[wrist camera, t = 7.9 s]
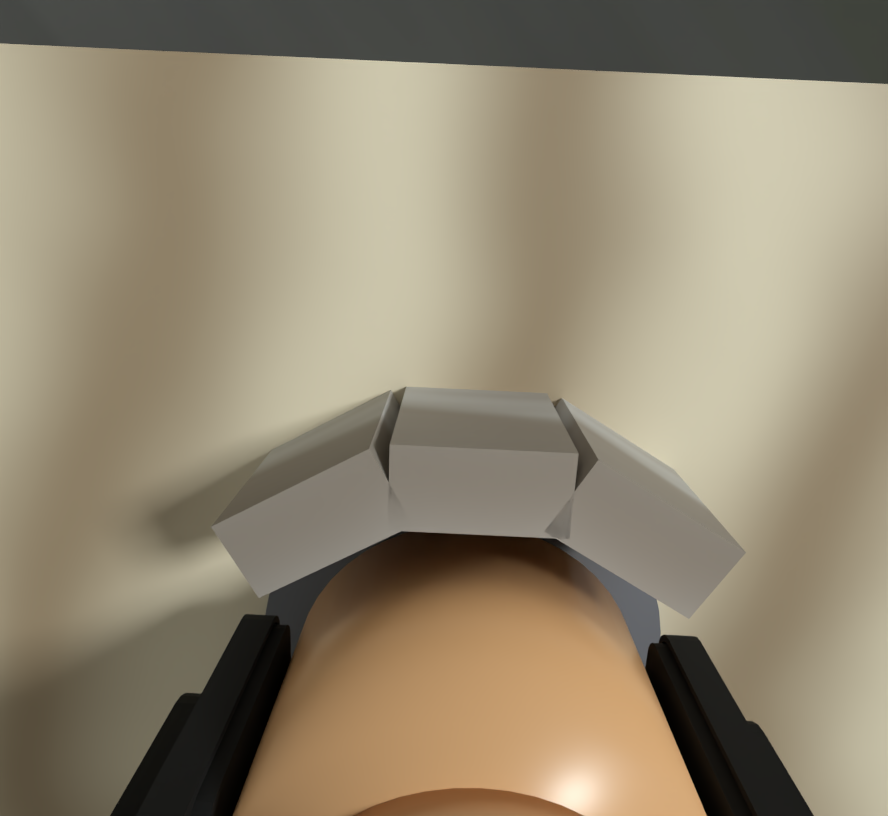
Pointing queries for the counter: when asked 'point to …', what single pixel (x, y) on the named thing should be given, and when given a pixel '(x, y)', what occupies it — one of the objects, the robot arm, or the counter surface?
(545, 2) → the counter surface
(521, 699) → the tan round jar
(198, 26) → the counter surface
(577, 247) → the barrel mount
